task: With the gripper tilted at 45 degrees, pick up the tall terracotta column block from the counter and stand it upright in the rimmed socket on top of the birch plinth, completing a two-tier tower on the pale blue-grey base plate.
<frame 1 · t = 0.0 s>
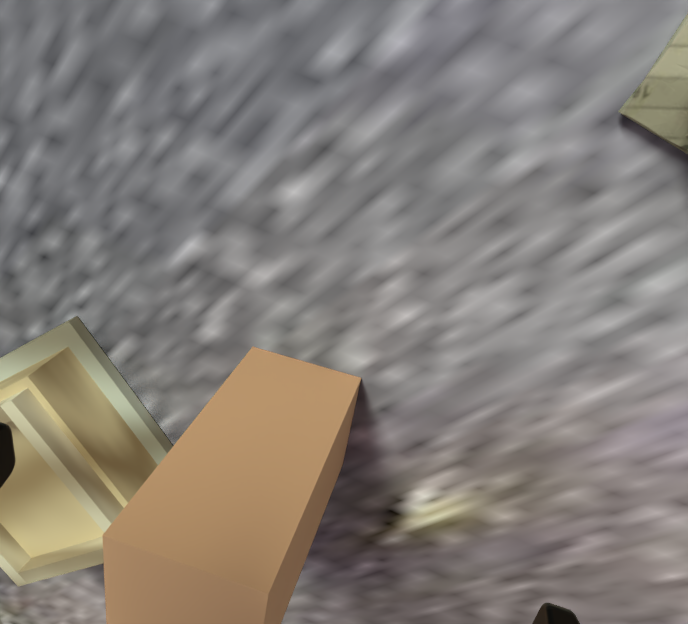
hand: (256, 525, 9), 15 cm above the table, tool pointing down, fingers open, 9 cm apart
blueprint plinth: (73, 447, 32), on the table
column block: (299, 407, 27), on the table
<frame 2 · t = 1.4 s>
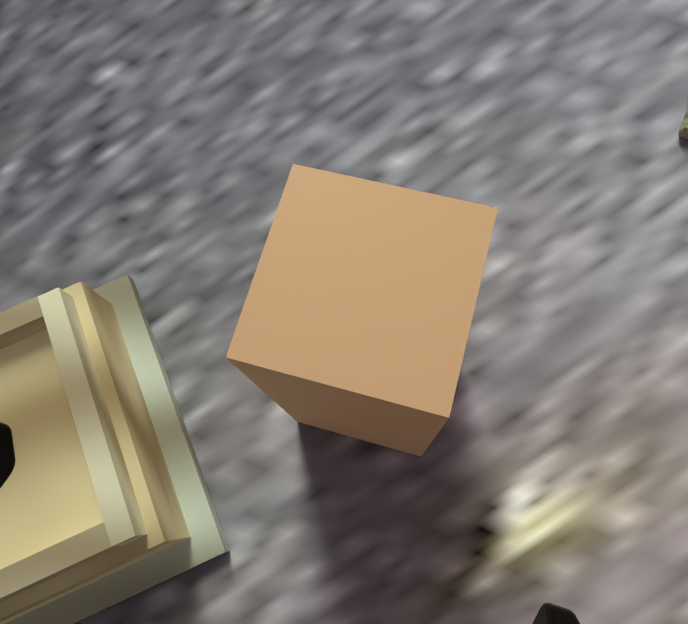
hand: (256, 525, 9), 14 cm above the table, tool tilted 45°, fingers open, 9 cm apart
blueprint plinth: (37, 467, 24), on the table
column block: (374, 377, 24), on the table
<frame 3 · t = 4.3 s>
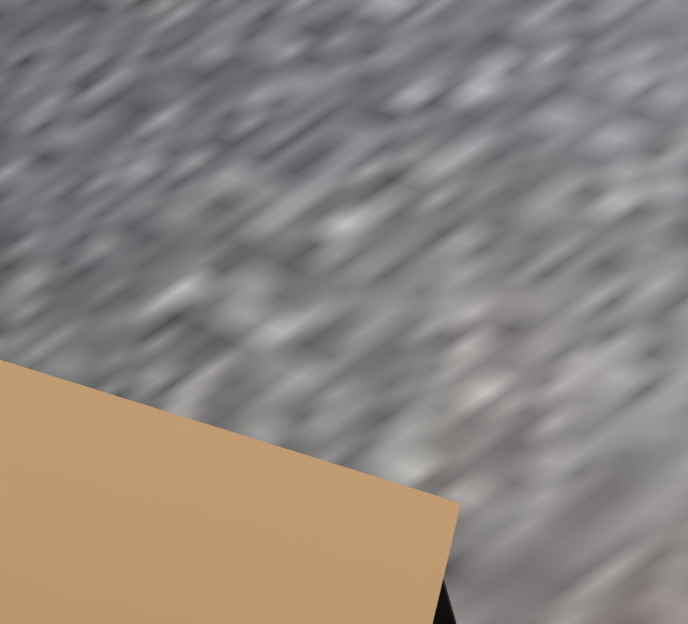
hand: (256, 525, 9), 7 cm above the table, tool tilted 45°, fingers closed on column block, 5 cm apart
column block: (290, 571, 15), on the table, touching gripper
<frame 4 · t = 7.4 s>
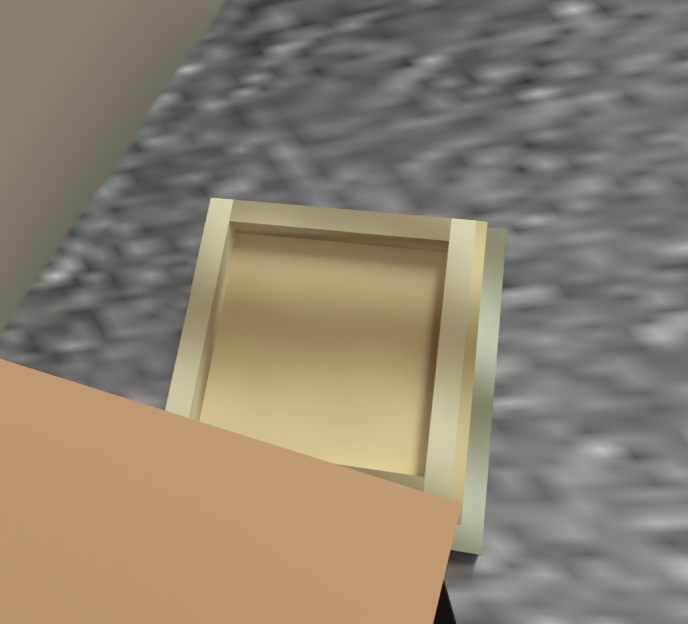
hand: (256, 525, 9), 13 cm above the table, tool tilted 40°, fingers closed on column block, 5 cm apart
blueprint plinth: (335, 363, 23), on the table
column block: (291, 572, 15), point 6 cm above the table, touching gripper
when the fingers open (11 cm above the table, at t = 10.3 s): column block drops 1 cm, resting on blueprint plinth.
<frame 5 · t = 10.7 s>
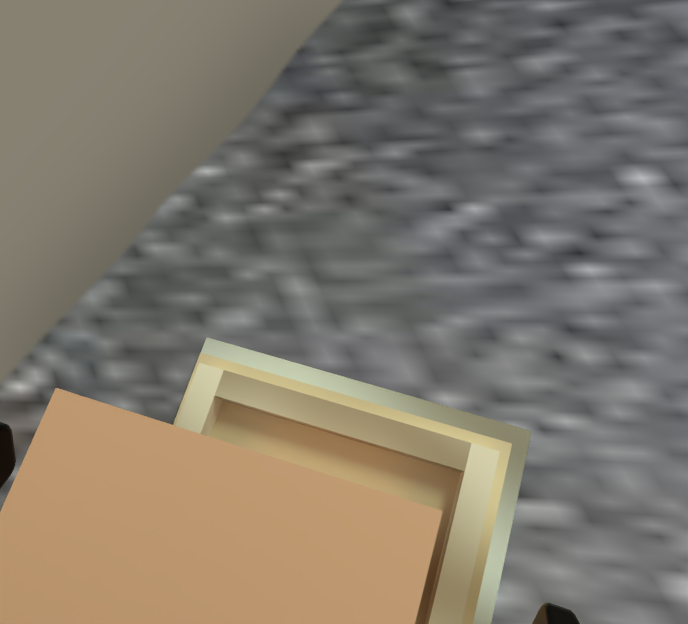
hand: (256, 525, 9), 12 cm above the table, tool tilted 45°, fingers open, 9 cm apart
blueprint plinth: (312, 554, 20), on the table
column block: (298, 567, 17), point 3 cm above the table, touching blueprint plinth
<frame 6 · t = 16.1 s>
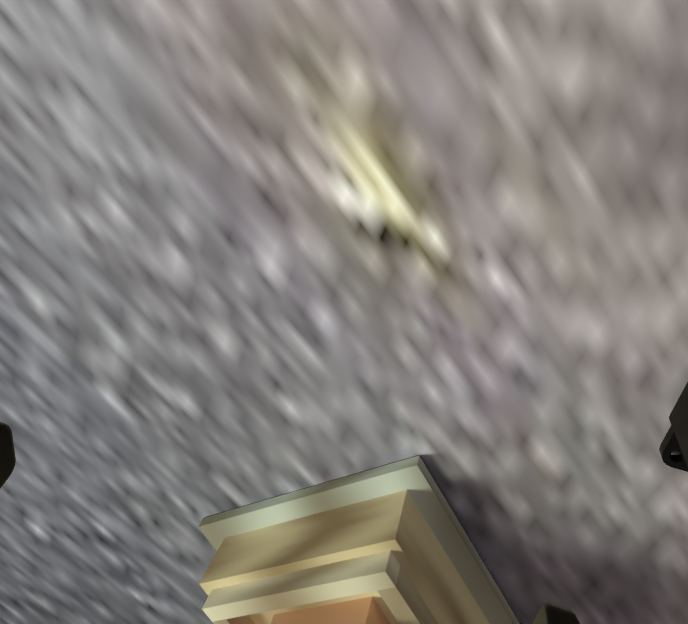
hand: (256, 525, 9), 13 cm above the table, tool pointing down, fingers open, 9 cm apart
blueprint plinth: (365, 583, 29), on the table
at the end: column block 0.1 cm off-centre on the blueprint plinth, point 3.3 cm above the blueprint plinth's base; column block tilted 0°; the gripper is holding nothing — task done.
